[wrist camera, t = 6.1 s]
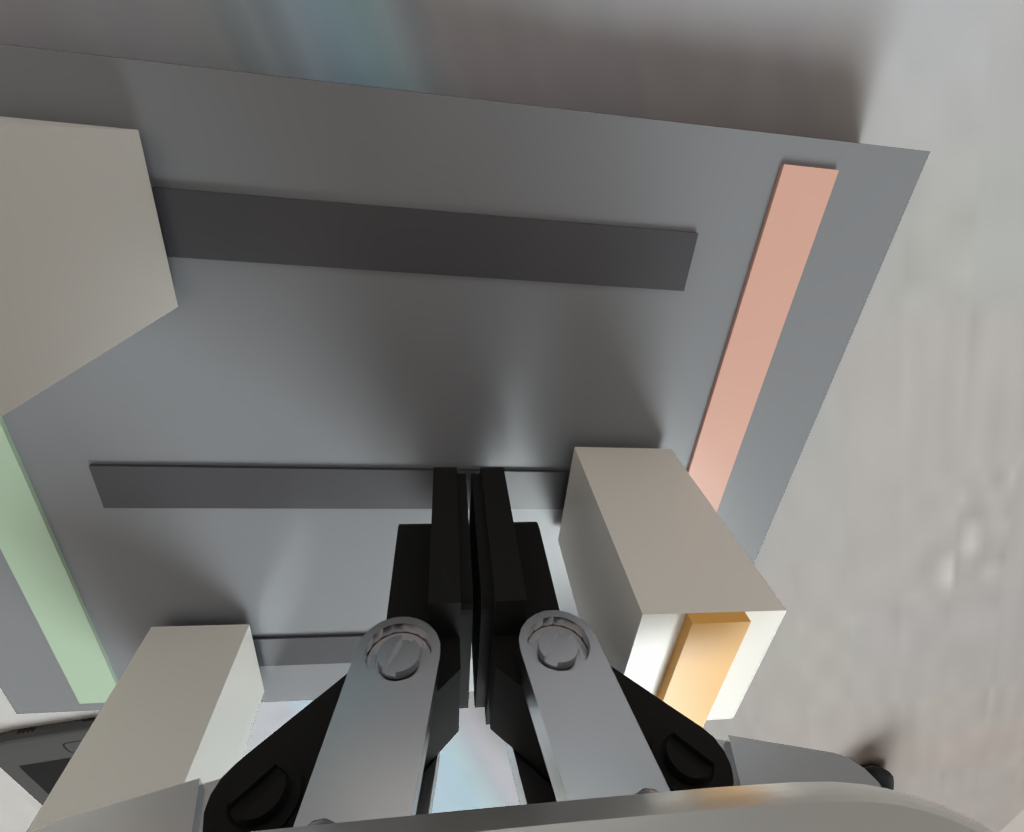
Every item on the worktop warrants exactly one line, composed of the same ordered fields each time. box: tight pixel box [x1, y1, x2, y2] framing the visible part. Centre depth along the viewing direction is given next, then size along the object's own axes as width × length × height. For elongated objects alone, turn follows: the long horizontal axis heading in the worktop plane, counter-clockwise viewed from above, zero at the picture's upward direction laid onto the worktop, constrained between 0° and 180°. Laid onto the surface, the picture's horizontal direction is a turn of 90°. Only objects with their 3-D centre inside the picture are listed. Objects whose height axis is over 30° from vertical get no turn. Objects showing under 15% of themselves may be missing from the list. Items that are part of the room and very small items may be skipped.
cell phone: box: [0, 717, 96, 805], centre depth 22 cm, size 7×14×1 cm, turn 5°
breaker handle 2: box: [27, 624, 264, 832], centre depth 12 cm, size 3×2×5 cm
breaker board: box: [0, 44, 930, 714], centre depth 14 cm, size 17×22×2 cm
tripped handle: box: [558, 447, 787, 728], centre depth 11 cm, size 3×2×5 cm
